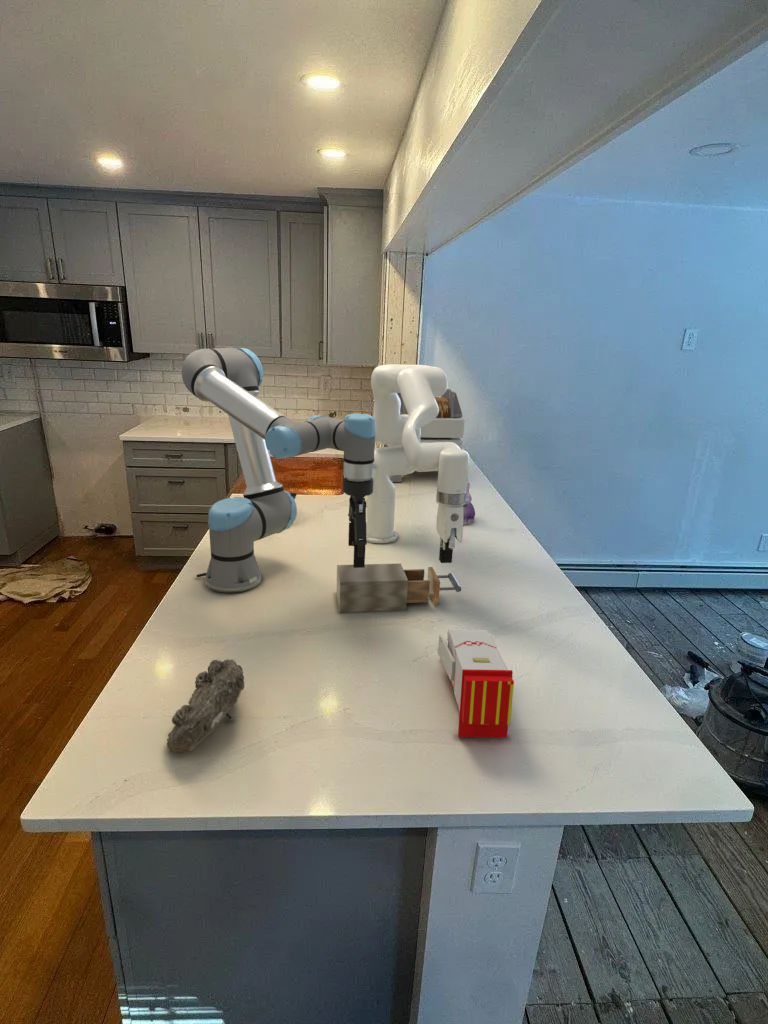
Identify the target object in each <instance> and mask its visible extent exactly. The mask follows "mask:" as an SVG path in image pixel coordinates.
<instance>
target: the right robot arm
mask: <svg viewBox="0 0 768 1024" xmlns="http://www.w3.org/2000/svg"><path fill="white" fill-rule="evenodd" d="M448 383H449V382H448V377H447V375H446V372H445V371H444V370H443V369H442V368H441V367H439V366H433V365H428V364H427V365H426V364H403V363H402V364H401V363H400V364H399V363H397V364H395V363H394V364H393V363H391V364H381V365H377V366H376V367H375V368H374V369H373V371H372V372H371V376H370V386H371V392H372V395H373V411H372V412H373V414H372V417H374V419H375V430H376V437H375V444H378V445H384V444H402V446H398V447H384V446H380V447H375V450H374V464H375V465H376V468H373V470H374V476H373V477H372V479H373V480H374V482H373V493H372V494H371V495H368V496H366V505H367V506H366V541H367V543H373V544H389V543H393V542H395V541H397V540H398V537H399V534H398V532H397V531H396V530H395V528H394V527H395V510H396V509H395V508H396V507H395V506H396V491H397V490H396V486H395V484H394V482H391V480H390V478H389V476H394V475H402V476H403V475H404V476H405V475H411V474H413V473H415V472H418V473H426V472H437V481H436V482H437V484H436V494H435V495H436V496H435V502H436V504H438V505H437V513H436V524H435V525H436V527H435V529H436V531H437V534H438V535H439V553H438V554H439V555H438V561H439V563H440V564H451V563H452V562H453V555H454V549H455V548H456V540H457V542H458V543H462V542H463V537H464V525H463V505H465V499H466V488H467V483H468V476H469V467H470V454H469V452H468V450H465V449H463V448H462V449H460V448H459V447H458V445H457V444H455V443H453V442H431V443H420V437H421V427H423V426H425V425H427V424H429V423H430V422H432V421H433V420H434V419H435V418H436V417H437V415H438V413H439V408H438V405H437V403H436V400H435V397H441V396H442V395H444V393H445V392H446V390H447V389H448V388H449V387H448V386H449V384H448ZM397 393H401V396H402V399H403V401H404V404H405V407H406V410H407V413H408V414H403V415H400V409H401V401H400V398H399V396H398V395H397Z"/></svg>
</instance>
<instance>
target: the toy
mask: <svg viewBox="0 0 768 1024" xmlns="http://www.w3.org/2000/svg"><path fill="white" fill-rule="evenodd" d="M446 640H447V643H446V641H445V639H444V636H443V635H442V634H439V637H438V646H437V656H438V657H439V659H440V661H441V663H442V666H443V668H444V670H445V672H446V674H447V677H448V679H449V681H450V684H451V687H452V690H453V693H454V697H455V701H456V705H457V708H458V711H459V714H458V715H459V716H458V730H457V731H458V732H457V737H458V738H508V731H509V726H510V725H511V717H512V707H513V697H514V696H513V695H514V684H515V680H514V679H513V673H514V671H513V670H512V669H508V667H507V665H506V662H505V661H504V659H503V658H502V655H501V653H500V651H499V649H498V647H497V643H496V639H495V637H494V635H493V634H491V632H490V631H489V629H467V628H466V629H465V628H463V629H461V628H460V629H459V628H448V630H447V639H446Z"/></svg>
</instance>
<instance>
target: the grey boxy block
mask: <svg viewBox="0 0 768 1024" xmlns="http://www.w3.org/2000/svg"><path fill="white" fill-rule="evenodd" d="M404 570H405V569H404V567H403V565H402V563H367V564H366V563H365V568H354V567H353V564H337V565H336V599H337V605H338V612H339V613H362V612H387V611H406V610H407V604H408V603H407V588H408V579H407V577H406V575H405V572H404Z"/></svg>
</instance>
